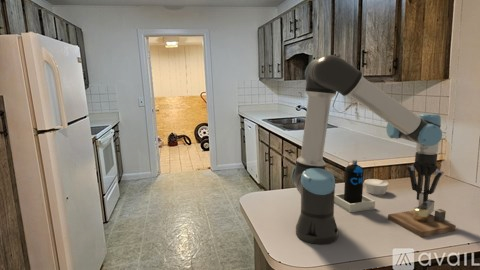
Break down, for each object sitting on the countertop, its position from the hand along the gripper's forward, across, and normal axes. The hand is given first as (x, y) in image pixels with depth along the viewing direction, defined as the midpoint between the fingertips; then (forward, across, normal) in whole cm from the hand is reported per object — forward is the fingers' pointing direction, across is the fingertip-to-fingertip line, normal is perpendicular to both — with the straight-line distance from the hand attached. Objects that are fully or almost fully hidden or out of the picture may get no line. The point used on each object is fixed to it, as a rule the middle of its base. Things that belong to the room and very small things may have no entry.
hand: (421, 208), depth 127 cm
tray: (+4, -25, -10) cm, 27 cm away
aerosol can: (+3, -25, -10) cm, 27 cm away
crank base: (+3, +3, -9) cm, 10 cm away
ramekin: (+4, -26, +15) cm, 30 cm away
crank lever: (+1, +3, -3) cm, 4 cm away
